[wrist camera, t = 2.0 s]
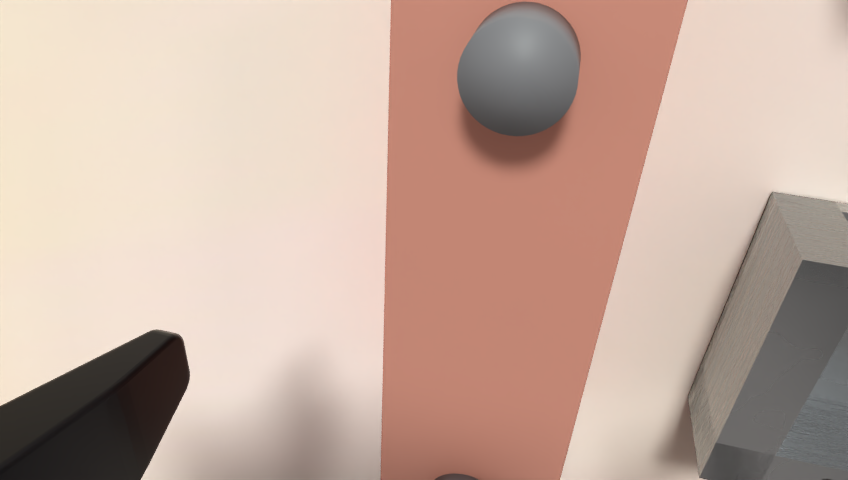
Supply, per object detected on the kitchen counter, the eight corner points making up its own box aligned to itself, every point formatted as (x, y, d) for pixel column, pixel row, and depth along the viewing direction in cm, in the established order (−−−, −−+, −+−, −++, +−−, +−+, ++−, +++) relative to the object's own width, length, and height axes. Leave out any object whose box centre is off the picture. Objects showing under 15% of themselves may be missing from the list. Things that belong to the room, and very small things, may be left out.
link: (554, 390, 18) (535, 597, 13) (430, 364, 18) (368, 552, 14) (667, -101, 11) (713, -46, 6) (468, -116, 12) (372, -76, 7)
